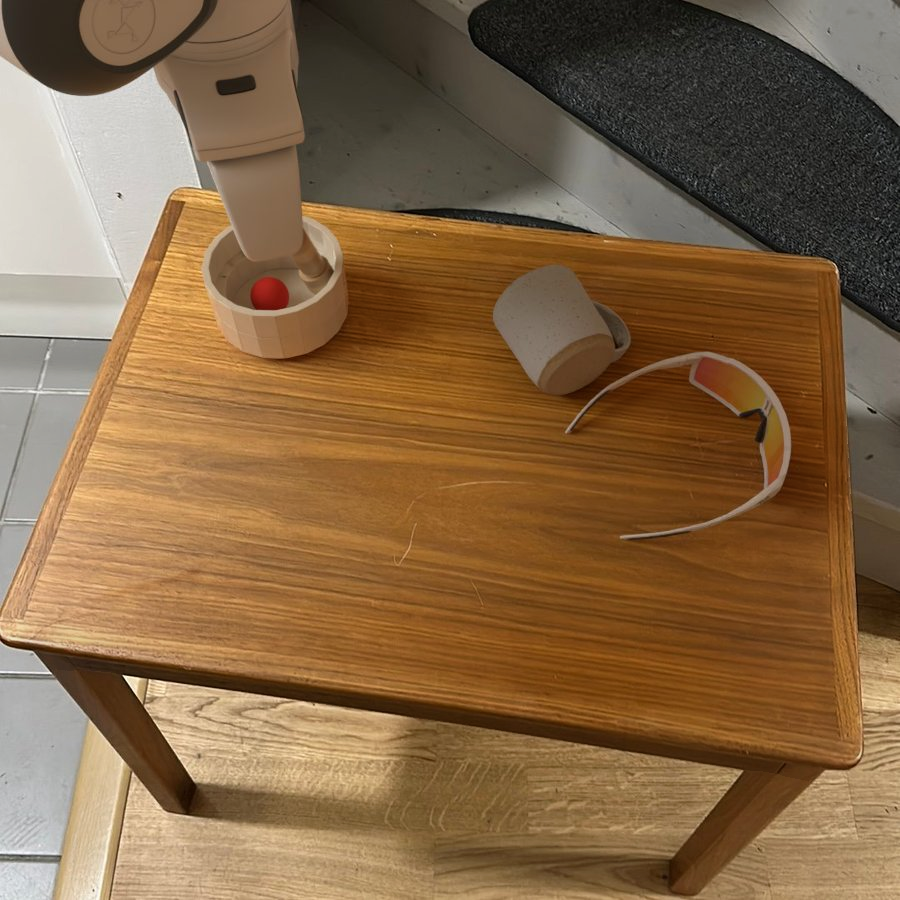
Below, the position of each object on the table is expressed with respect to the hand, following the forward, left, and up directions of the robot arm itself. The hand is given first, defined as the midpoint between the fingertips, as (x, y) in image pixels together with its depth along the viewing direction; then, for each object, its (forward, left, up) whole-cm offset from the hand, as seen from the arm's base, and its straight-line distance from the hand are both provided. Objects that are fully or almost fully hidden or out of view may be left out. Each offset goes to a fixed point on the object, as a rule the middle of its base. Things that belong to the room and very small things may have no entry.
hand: (260, 212), depth 68 cm
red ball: (-1, +1, -10) cm, 11 cm away
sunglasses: (+27, -22, -13) cm, 37 cm away
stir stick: (+4, 0, -9) cm, 10 cm away
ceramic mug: (+22, -10, -13) cm, 27 cm away
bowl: (0, +1, -13) cm, 13 cm away
